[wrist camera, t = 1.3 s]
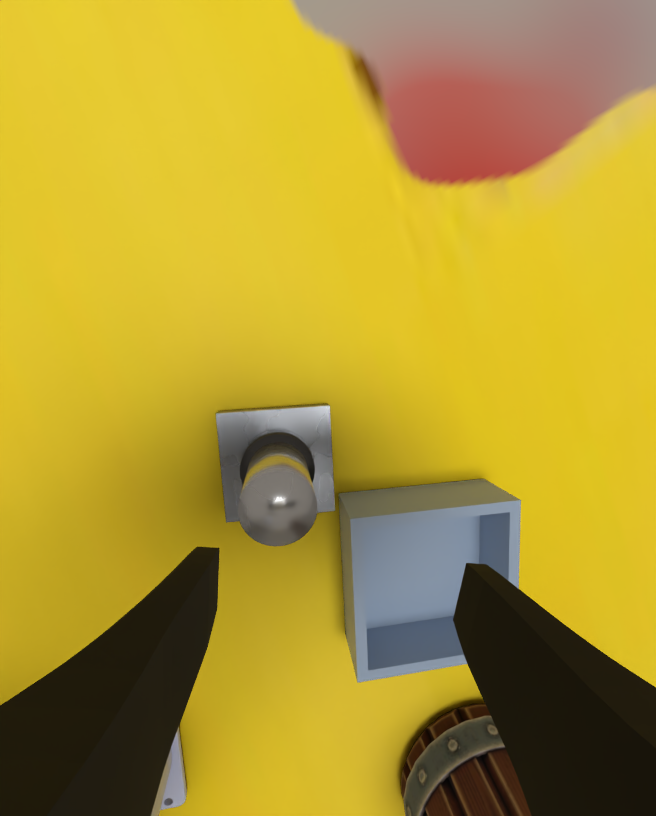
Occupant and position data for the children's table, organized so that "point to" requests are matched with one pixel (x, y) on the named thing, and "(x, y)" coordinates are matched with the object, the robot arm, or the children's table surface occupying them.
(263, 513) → the strut
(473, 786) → the mug
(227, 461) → the grey metal square plate
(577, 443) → the children's table surface
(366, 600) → the bin
